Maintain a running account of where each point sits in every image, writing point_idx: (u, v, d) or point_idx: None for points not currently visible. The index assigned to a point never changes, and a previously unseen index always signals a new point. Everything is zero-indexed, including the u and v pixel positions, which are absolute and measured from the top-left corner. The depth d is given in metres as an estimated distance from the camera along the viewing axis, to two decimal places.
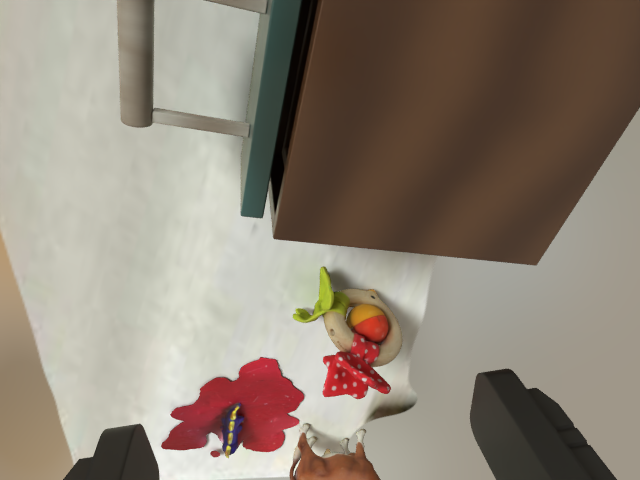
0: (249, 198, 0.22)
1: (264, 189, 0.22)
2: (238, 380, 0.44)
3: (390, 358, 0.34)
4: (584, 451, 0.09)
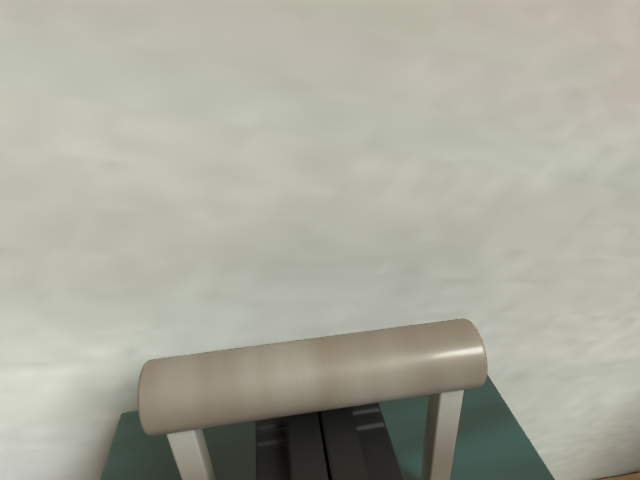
0: None
1: None
2: None
3: None
4: (378, 432, 0.09)
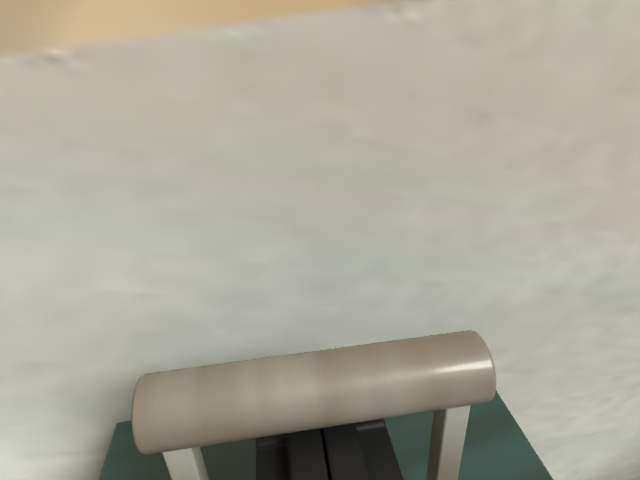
0: None
1: None
2: None
3: None
4: (378, 432, 0.09)
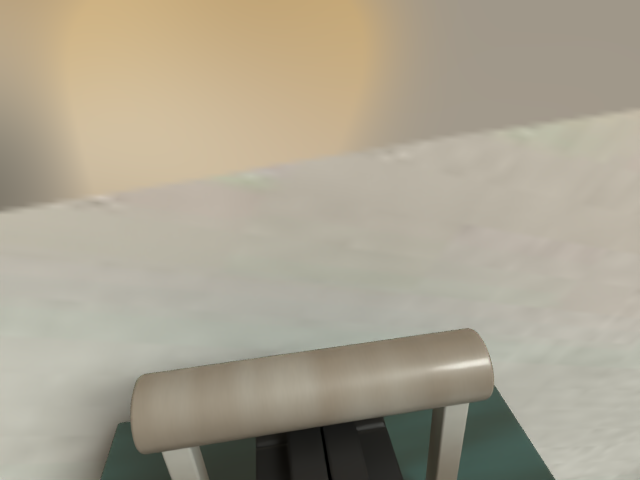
0: None
1: None
2: None
3: None
4: (378, 432, 0.09)
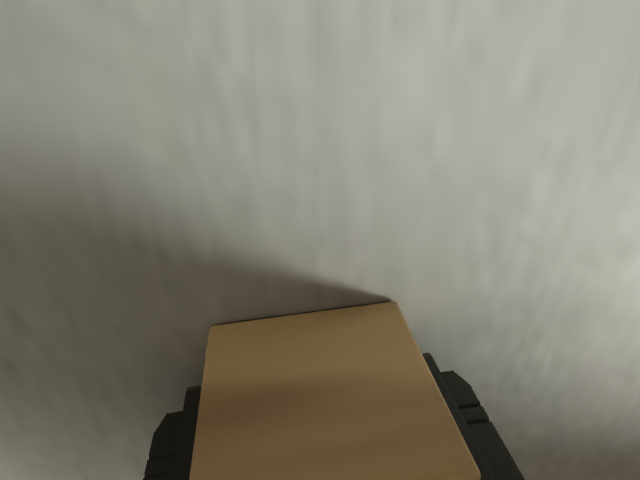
0: None
1: None
2: None
3: None
4: (484, 427, 0.09)
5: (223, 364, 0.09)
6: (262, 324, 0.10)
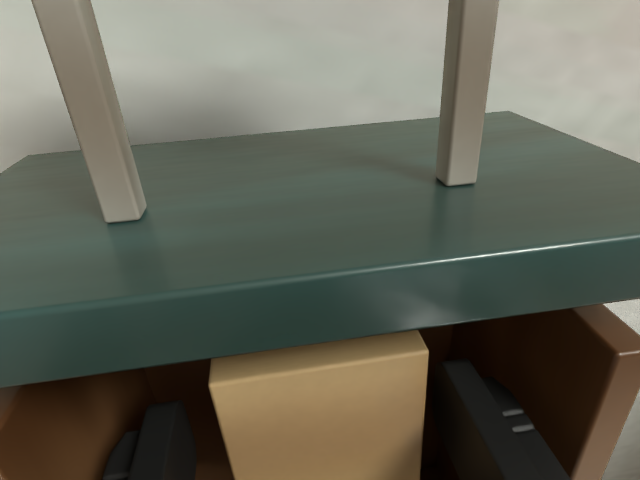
0: None
1: None
2: None
3: None
4: (530, 435, 0.09)
5: None
6: None
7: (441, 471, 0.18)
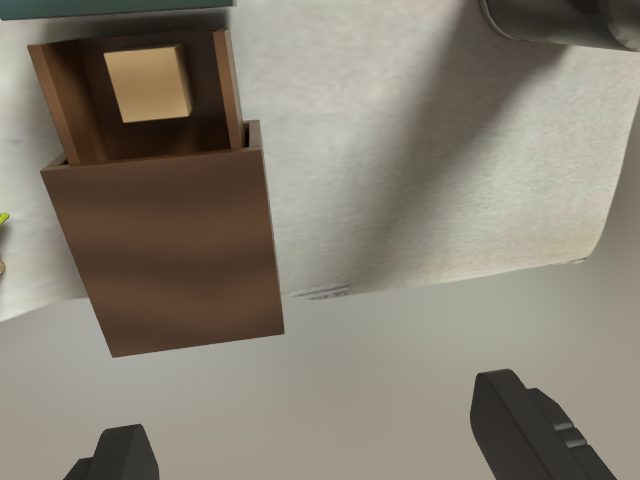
0: (15, 2, 0.25)
1: (31, 14, 0.25)
2: None
3: None
4: (584, 451, 0.09)
5: (122, 48, 0.31)
6: None
7: None
